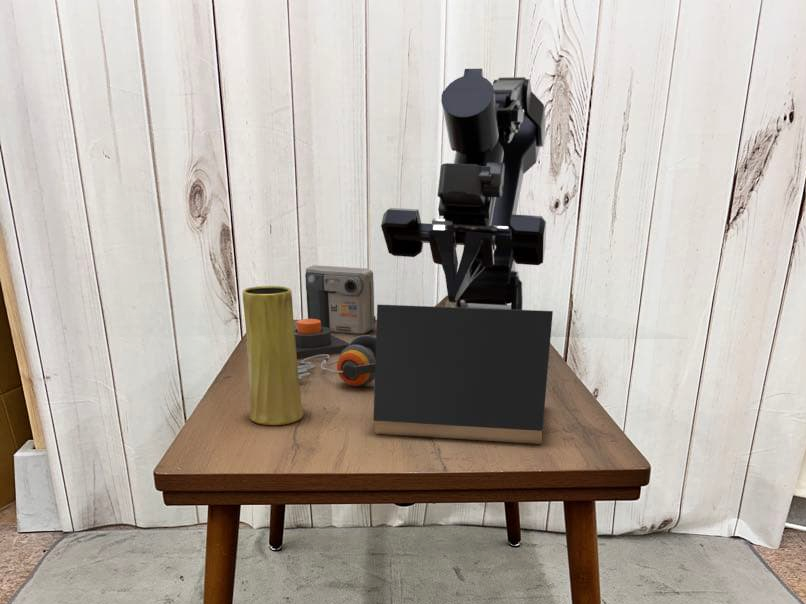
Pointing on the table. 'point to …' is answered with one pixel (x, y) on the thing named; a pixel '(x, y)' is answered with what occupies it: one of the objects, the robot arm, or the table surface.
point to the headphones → (351, 362)
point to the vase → (272, 355)
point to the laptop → (458, 432)
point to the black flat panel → (462, 366)
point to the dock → (318, 343)
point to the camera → (341, 298)
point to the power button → (308, 326)
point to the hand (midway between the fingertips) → (451, 300)
